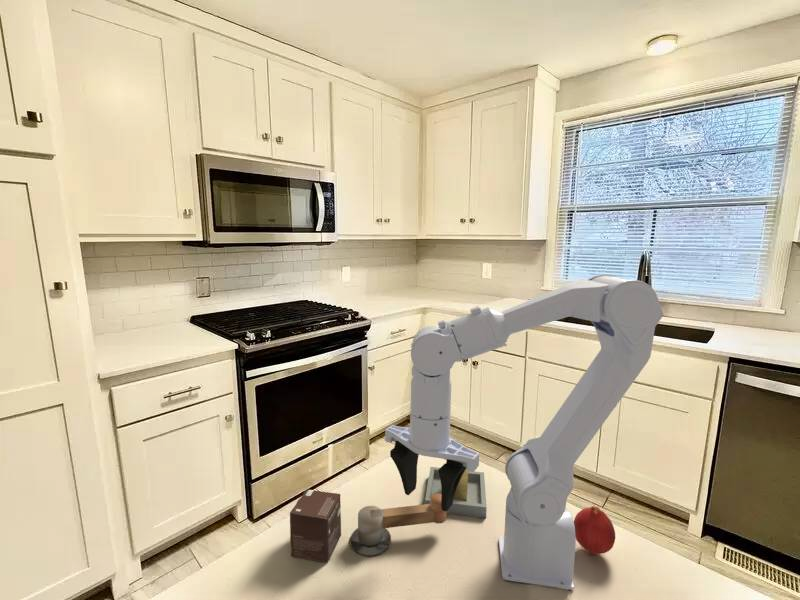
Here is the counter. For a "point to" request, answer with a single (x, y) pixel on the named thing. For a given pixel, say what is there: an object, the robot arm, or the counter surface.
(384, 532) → the crank base
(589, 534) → the onion
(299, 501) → the box
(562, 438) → the robot arm
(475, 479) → the tray
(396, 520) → the crank
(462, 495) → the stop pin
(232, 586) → the counter surface
